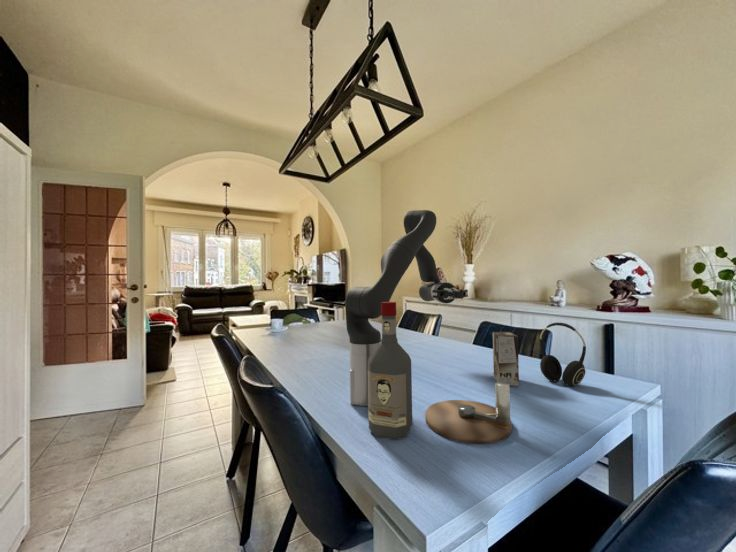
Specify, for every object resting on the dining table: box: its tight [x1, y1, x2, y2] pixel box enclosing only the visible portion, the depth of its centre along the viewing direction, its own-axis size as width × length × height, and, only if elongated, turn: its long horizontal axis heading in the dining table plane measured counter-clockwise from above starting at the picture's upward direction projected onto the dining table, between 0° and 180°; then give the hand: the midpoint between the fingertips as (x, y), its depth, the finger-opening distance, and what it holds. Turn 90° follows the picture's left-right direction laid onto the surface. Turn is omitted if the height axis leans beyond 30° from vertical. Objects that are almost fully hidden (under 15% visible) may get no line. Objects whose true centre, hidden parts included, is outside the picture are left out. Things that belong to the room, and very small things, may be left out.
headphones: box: [539, 322, 587, 387], centre depth 102 cm, size 9×15×20 cm, turn 28°
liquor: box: [367, 301, 413, 441], centre depth 73 cm, size 9×9×30 cm
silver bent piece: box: [458, 381, 511, 426], centre depth 73 cm, size 12×4×9 cm, turn 51°
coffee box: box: [492, 331, 520, 387], centre depth 105 cm, size 9×6×16 cm
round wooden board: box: [424, 399, 513, 445], centre depth 76 cm, size 20×20×2 cm
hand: (459, 294), depth 97 cm, fingers closed
